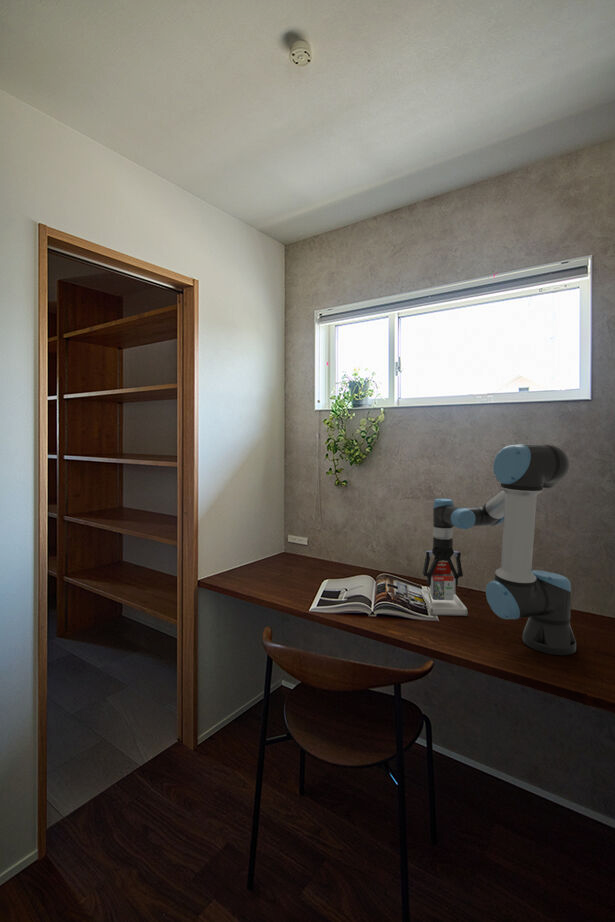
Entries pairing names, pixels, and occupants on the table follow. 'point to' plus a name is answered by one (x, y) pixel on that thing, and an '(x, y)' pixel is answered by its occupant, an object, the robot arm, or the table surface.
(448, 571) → the ink box
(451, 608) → the tray
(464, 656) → the table surface
